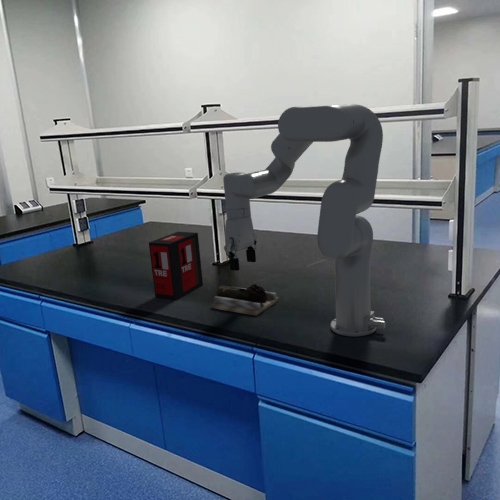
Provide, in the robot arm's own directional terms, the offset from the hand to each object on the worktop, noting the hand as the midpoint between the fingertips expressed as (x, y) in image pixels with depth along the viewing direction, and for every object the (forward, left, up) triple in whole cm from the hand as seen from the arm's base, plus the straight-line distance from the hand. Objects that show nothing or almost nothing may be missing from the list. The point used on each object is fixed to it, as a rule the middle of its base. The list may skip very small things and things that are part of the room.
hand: (243, 265), depth 161 cm
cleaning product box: (+30, -2, -13) cm, 33 cm away
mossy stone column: (0, 0, -12) cm, 12 cm away
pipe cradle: (0, 0, -13) cm, 13 cm away
